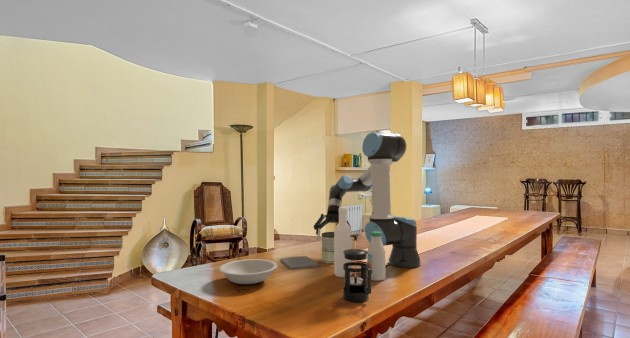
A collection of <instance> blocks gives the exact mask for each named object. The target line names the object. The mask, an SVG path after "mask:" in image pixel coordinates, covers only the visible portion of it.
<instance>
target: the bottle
mask: <svg viewBox="0 0 630 338" xmlns="http://www.w3.org/2000/svg"><path fill="white" fill-rule="evenodd" d="M347 221H348V207H346V206H341V207H339V223H337V225H336V226H335V228H334V230H333V232H334V263H333V264H334V267H333V269H334V271H333V272H334V273H333V274H334V276H336V277H338V278H345V270H344V269H343V264H345V263H348V262H353V260H348V259H345V257H344V253H343V251H344V250H348V249H353V248H352V247H353V241H352V240H353V237H350V235H353V234H352V233H353V231H352V226H351V225H350V226H351V227H350V226H349V225H348V224H347ZM348 268H353V266H348ZM352 276H353V272H350V277H352Z"/></svg>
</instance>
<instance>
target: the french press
mask: <svg viewBox="0 0 630 338" xmlns="http://www.w3.org/2000/svg"><path fill="white" fill-rule="evenodd" d="M350 237H352V238H353V240H354V248H352V249H348V250H344V251H343V253H344V257H345V259H348V260H352V262H348V263H345V264H343V269H344V270H345V277H344V279H343V281H344V287H343V289H342V290H343V291H342V292H343V293H342V299H343V300H344V301H346V302H348V303H352V304H353V303H355V304H356V303H357V304H360V303H365V302H368V301H369V299H370V298H369V295H370V294H372V280H371V269H370V268H368V265H367V263H366V262H359V261H364V260H367V254H368V252H367V251H368V250H365V249H360V248H357V241H358V240H357V239H358V238H361V237H362V235H360V234H352V235H350ZM348 266H352V268H348ZM353 266H355V267H354V268H353ZM357 266H359V267H360V268H359V267H358V268H357ZM367 271H368V277H367ZM350 272H352V273H354V276H350ZM357 273H360V277H359V276H357Z"/></svg>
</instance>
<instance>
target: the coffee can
mask: <svg viewBox="0 0 630 338" xmlns="http://www.w3.org/2000/svg"><path fill="white" fill-rule="evenodd" d="M321 262H323V263H324V264H334V231H325V232H322V233H321Z"/></svg>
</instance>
